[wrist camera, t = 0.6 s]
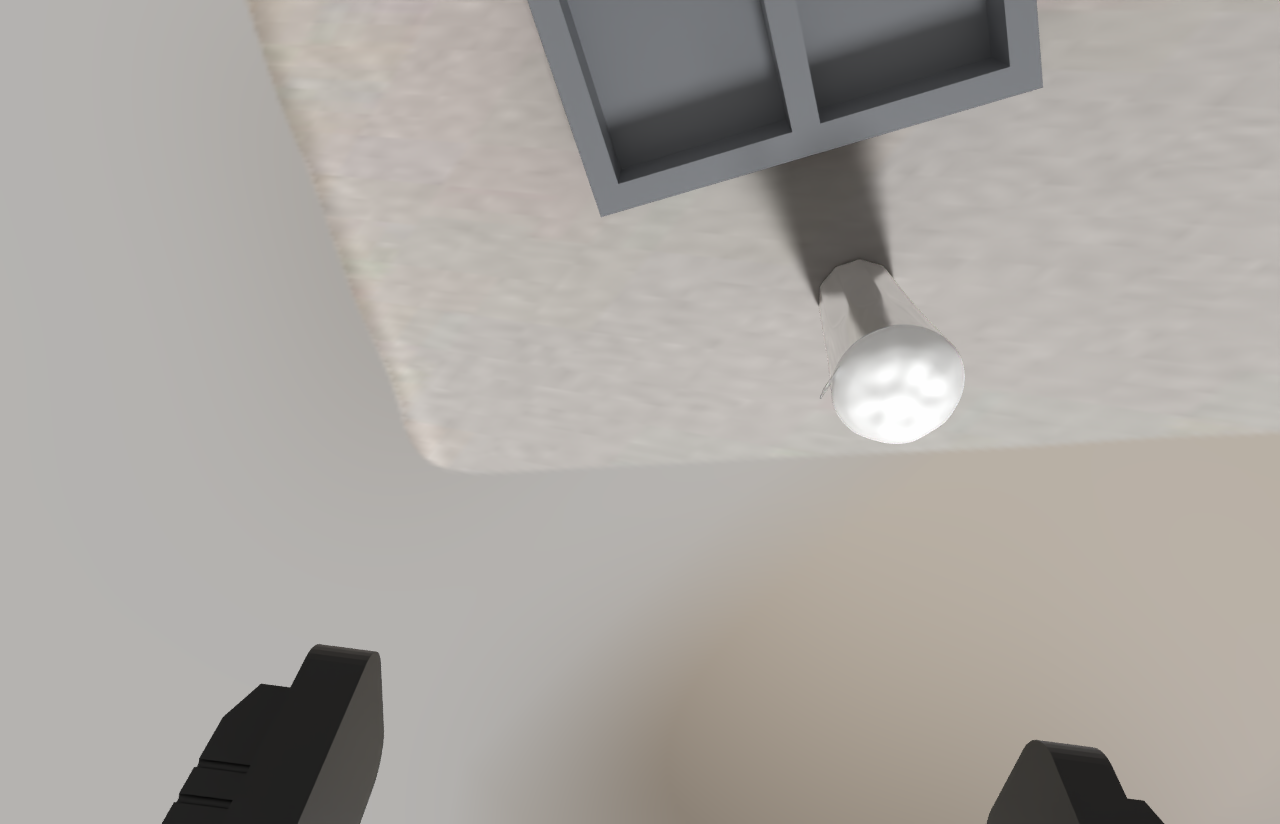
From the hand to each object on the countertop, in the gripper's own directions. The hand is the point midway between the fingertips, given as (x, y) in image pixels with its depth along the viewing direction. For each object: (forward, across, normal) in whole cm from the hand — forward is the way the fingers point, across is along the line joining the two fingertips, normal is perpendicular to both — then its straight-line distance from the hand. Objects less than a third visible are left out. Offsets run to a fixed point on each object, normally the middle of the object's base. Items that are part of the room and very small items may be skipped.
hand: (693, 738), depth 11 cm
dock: (+28, -1, -7) cm, 29 cm away
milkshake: (+28, -7, +5) cm, 29 cm away
